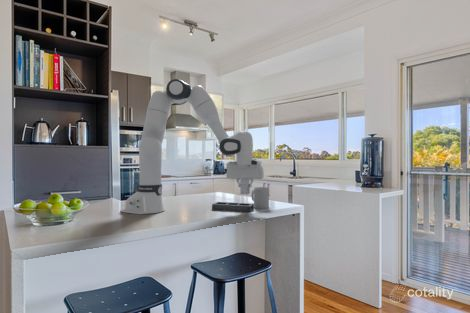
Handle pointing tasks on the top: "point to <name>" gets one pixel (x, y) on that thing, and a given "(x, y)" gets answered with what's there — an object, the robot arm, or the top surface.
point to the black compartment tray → (233, 206)
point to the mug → (260, 197)
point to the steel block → (244, 186)
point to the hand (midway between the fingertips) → (245, 187)
